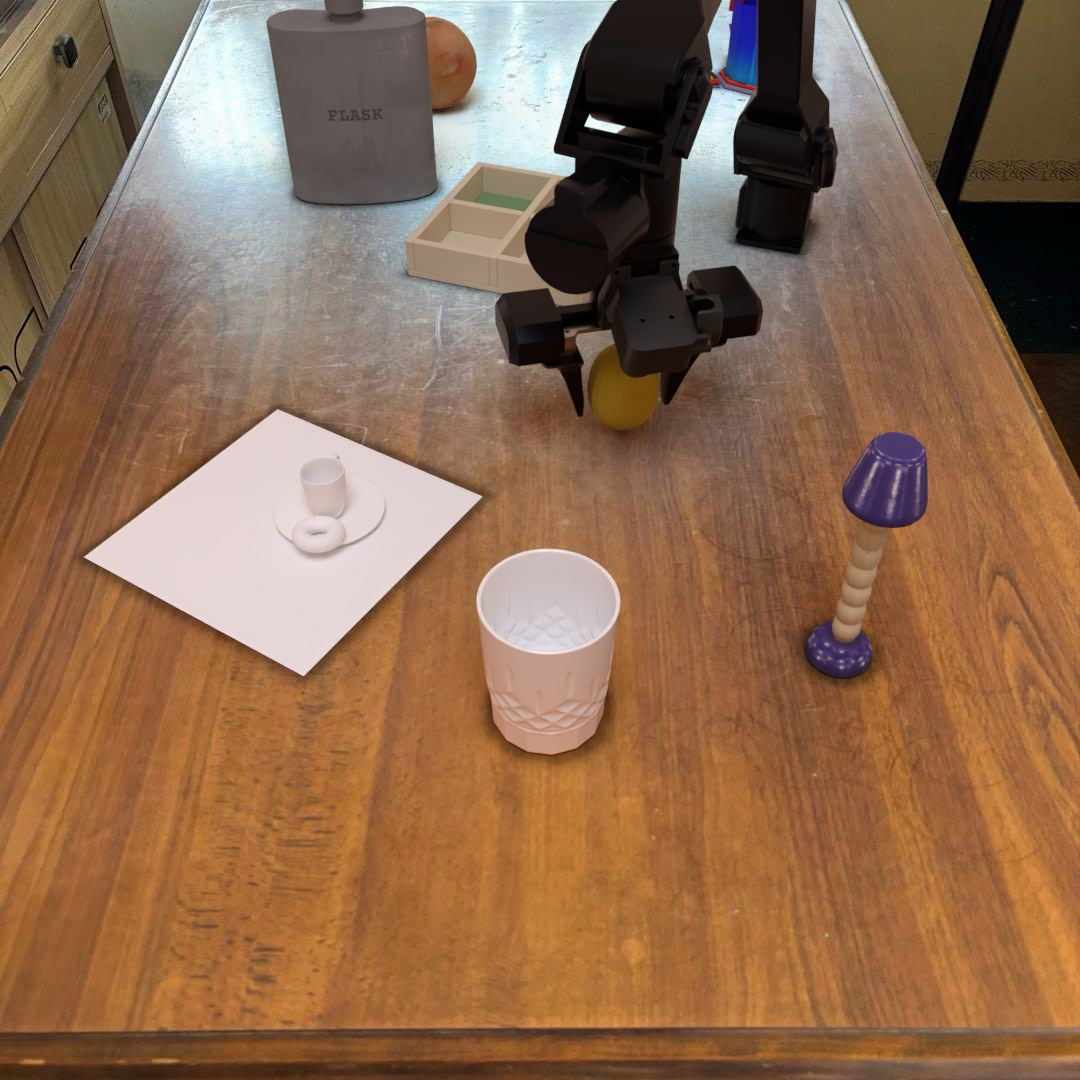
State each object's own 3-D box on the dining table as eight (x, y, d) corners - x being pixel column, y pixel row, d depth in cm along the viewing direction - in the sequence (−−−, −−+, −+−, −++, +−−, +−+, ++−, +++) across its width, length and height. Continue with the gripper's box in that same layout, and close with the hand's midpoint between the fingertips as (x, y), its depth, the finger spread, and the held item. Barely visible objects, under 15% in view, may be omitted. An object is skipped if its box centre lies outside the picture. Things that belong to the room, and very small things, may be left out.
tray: (638, 222, 111) (640, 188, 109) (583, 310, 100) (584, 274, 97) (479, 194, 116) (477, 161, 113) (408, 275, 104) (405, 240, 101)
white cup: (480, 664, 70) (473, 552, 63) (603, 656, 70) (610, 543, 63) (486, 769, 64) (479, 658, 57) (620, 759, 65) (630, 648, 58)
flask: (292, 208, 113) (257, 2, 100) (296, 182, 118) (263, -19, 104) (438, 202, 114) (423, -3, 100) (436, 176, 119) (422, -24, 105)
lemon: (651, 454, 85) (658, 368, 79) (580, 445, 86) (582, 360, 80) (660, 411, 89) (667, 327, 83) (592, 403, 90) (595, 319, 84)
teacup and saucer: (330, 574, 75) (322, 531, 73) (243, 532, 79) (232, 489, 76) (407, 501, 81) (402, 459, 78) (323, 464, 84) (316, 422, 81)
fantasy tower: (691, 83, 137) (701, -20, 128) (735, 54, 144) (747, -46, 135) (777, 106, 132) (793, -1, 123) (819, 74, 139) (837, -29, 130)
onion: (494, 99, 133) (492, 12, 126) (446, 129, 127) (441, 39, 120) (430, 82, 137) (424, -3, 130) (380, 111, 131) (371, 23, 124)
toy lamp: (798, 621, 72) (847, 419, 61) (870, 622, 72) (932, 420, 61) (809, 678, 69) (863, 475, 57) (884, 680, 69) (953, 477, 57)
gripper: (524, 302, 68) (526, 492, 79) (808, 267, 71) (773, 455, 82) (490, 216, 76) (496, 400, 86) (747, 188, 79) (722, 369, 89)
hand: (622, 407), depth 86 cm, fingers open, 7 cm apart
